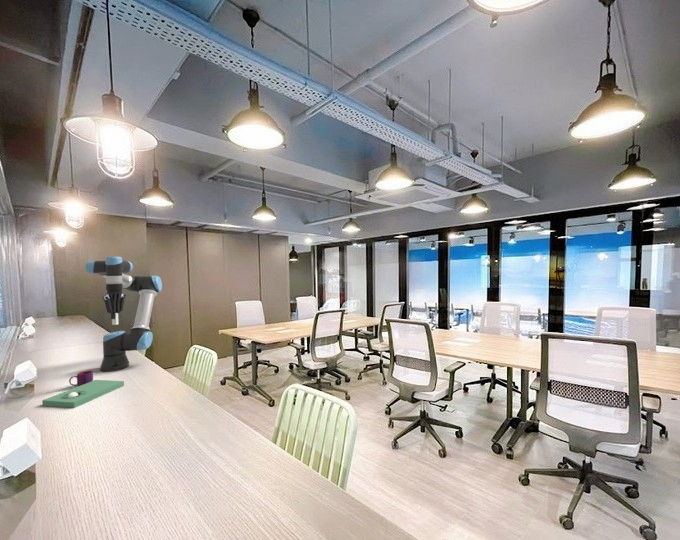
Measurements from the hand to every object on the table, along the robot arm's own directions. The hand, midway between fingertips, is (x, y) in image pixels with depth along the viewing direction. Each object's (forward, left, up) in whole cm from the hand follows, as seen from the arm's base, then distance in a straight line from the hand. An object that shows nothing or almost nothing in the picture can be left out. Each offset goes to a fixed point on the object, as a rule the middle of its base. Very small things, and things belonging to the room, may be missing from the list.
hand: (115, 324), depth 170 cm
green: (+19, +2, -32) cm, 38 cm away
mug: (+9, -13, -33) cm, 36 cm away
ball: (+24, +2, -32) cm, 40 cm away
